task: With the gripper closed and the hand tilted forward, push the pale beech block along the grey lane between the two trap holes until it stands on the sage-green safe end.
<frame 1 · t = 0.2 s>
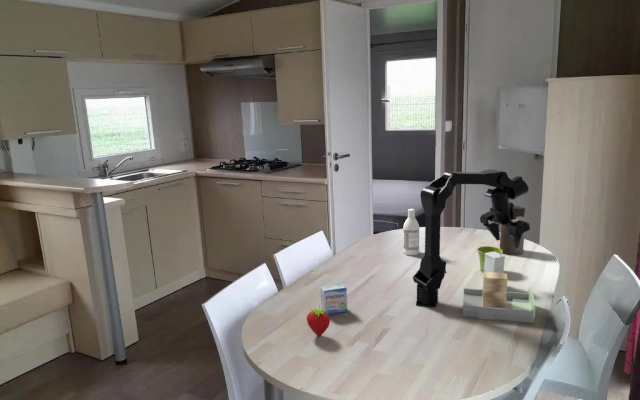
hand: (507, 243, 171), 16 cm above the table, tool pointing down, fingers open, 9 cm apart
strawberry: (319, 336, 144), on the table
medicine box: (334, 311, 160), on the table
block: (493, 304, 156), point 2 cm above the table, touching lane
skincare box: (492, 286, 174), on the table
pillar candle: (511, 252, 209), on the table
bath foam: (411, 253, 212), on the table
plant pot: (488, 271, 189), on the table
lane: (496, 310, 156), on the table
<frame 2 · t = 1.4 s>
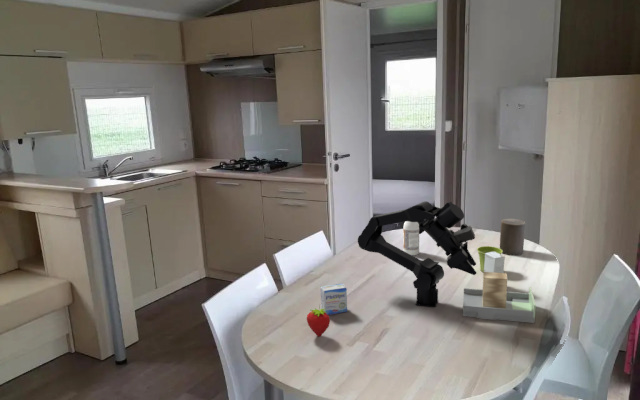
hand: (475, 269, 155), 13 cm above the table, tool tilted 45°, fingers open, 8 cm apart
nothing on the table moved.
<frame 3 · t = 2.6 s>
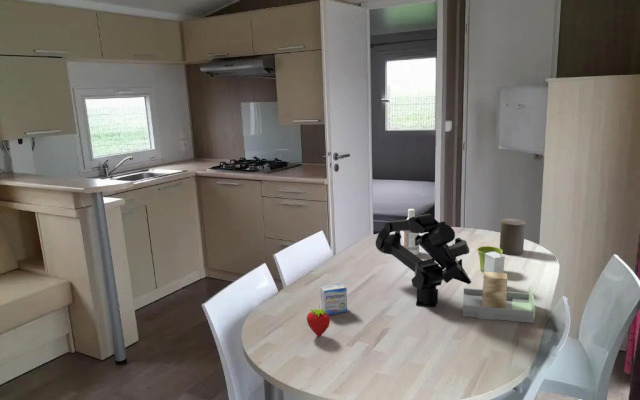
hand: (470, 282, 157), 9 cm above the table, tool tilted 45°, fingers closed
nothing on the table moved.
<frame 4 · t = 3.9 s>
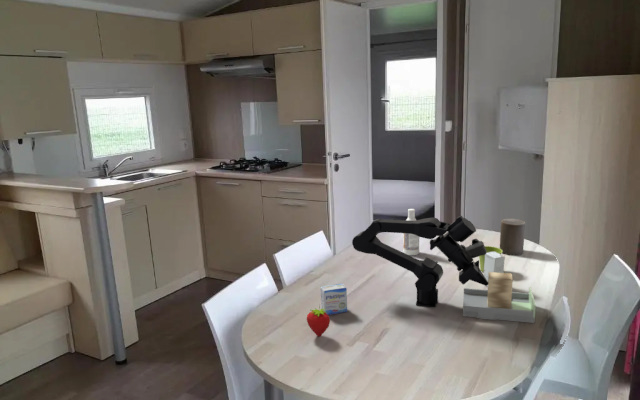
hand: (487, 284, 155), 9 cm above the table, tool tilted 45°, fingers closed, pressing on block
block: (498, 304, 155), point 2 cm above the table, touching gripper
everything else where it was.
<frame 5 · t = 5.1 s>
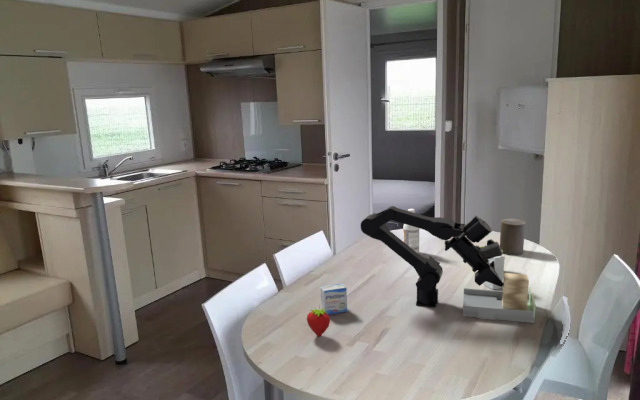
hand: (502, 285, 153), 9 cm above the table, tool tilted 45°, fingers closed, pressing on block
block: (514, 305, 154), point 2 cm above the table, touching gripper, lane
everything else where it was.
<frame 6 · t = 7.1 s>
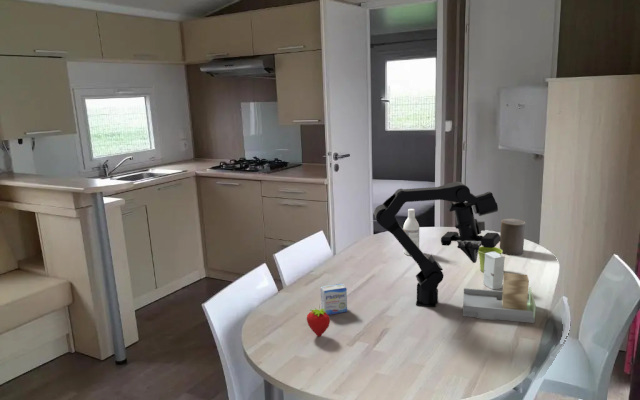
hand: (474, 262, 161), 14 cm above the table, tool pointing down, fingers closed
block: (514, 305, 154), point 2 cm above the table, touching lane
everything else where it was.
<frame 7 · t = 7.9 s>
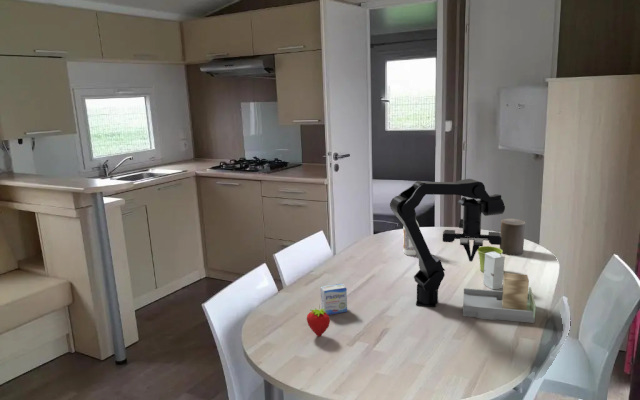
hand: (470, 261, 164), 13 cm above the table, tool pointing down, fingers closed
nothing on the table moved.
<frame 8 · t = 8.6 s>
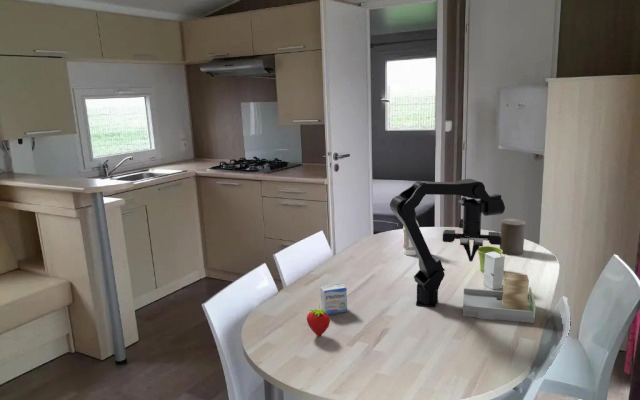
hand: (470, 261, 164), 13 cm above the table, tool pointing down, fingers closed
nothing on the table moved.
at the end: block 1.2 cm from the target spot, point 2.0 cm above the table; block tilted 1° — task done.
